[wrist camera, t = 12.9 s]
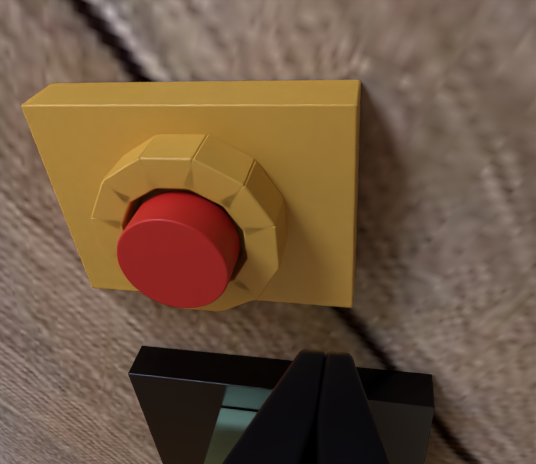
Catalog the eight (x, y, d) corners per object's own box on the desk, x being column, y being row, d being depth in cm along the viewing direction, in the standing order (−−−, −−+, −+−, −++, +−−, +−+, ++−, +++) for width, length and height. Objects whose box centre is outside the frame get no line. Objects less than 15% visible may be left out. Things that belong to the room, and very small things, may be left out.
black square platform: (432, 373, 26) (434, 407, 24) (409, 505, 34) (410, 536, 33) (141, 345, 29) (127, 373, 28) (185, 471, 38) (176, 499, 36)
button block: (361, 78, 18) (354, 129, 15) (355, 273, 23) (350, 341, 20) (51, 82, 20) (-12, 126, 17) (111, 258, 25) (72, 316, 22)
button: (233, 192, 17) (220, 222, 16) (246, 280, 19) (235, 313, 18) (123, 188, 18) (101, 216, 17) (148, 273, 20) (131, 304, 19)
